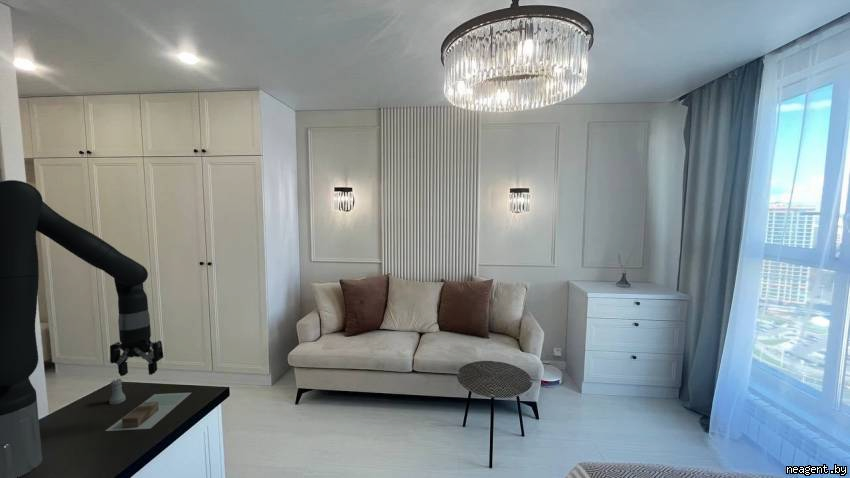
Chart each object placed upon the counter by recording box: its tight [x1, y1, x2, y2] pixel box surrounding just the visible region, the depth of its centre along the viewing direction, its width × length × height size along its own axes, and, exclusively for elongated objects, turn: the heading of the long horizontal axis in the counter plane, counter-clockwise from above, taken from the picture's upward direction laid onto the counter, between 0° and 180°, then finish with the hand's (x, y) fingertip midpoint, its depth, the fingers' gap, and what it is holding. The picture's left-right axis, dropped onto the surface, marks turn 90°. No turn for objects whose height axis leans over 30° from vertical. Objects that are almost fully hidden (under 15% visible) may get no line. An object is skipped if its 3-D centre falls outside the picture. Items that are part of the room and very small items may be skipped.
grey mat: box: [105, 392, 192, 432], centre depth 113 cm, size 21×13×1 cm, turn 5°
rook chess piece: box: [108, 378, 127, 405], centre depth 118 cm, size 4×4×8 cm
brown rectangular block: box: [121, 401, 159, 428], centre depth 108 cm, size 9×4×3 cm, turn 5°
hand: (138, 374), depth 107 cm, fingers open, 8 cm apart
